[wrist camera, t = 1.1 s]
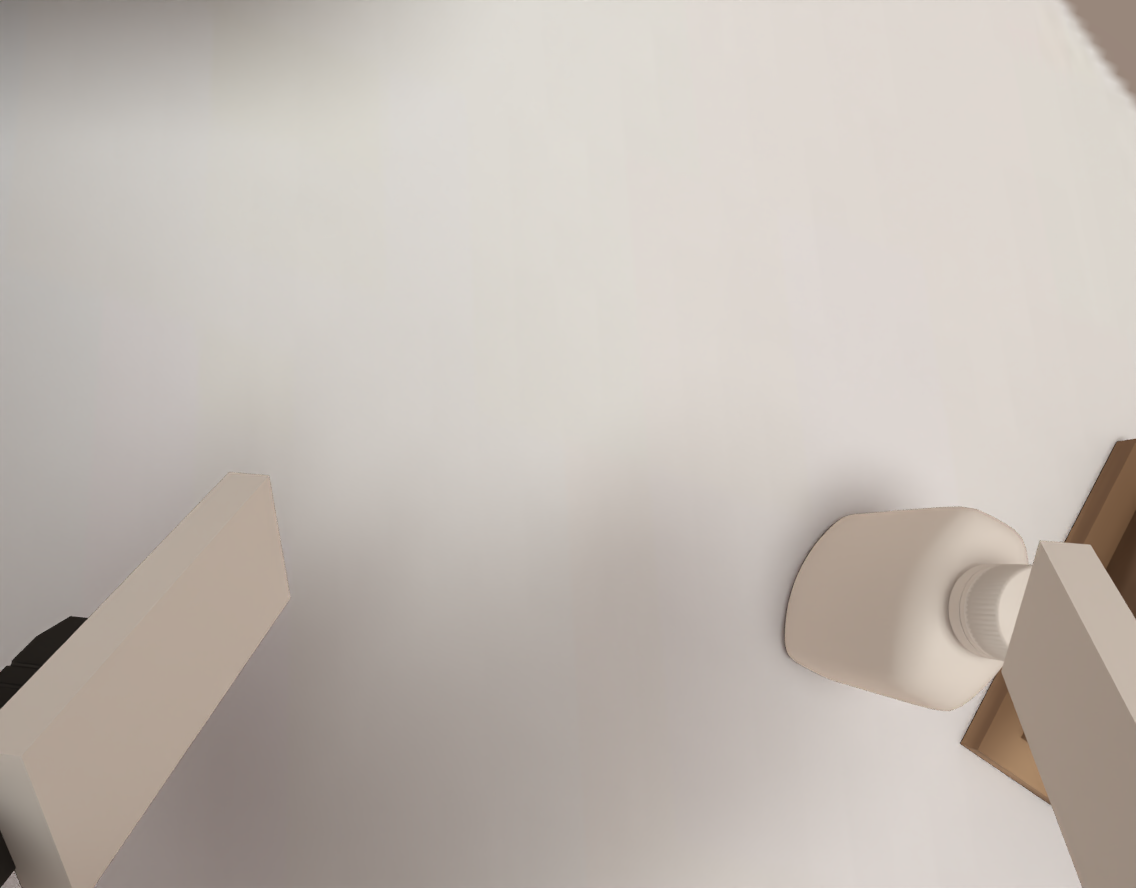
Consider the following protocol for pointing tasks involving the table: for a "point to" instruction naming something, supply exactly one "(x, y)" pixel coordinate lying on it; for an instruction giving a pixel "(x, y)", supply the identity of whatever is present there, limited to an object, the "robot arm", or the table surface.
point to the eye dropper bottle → (909, 603)
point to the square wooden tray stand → (1132, 559)
